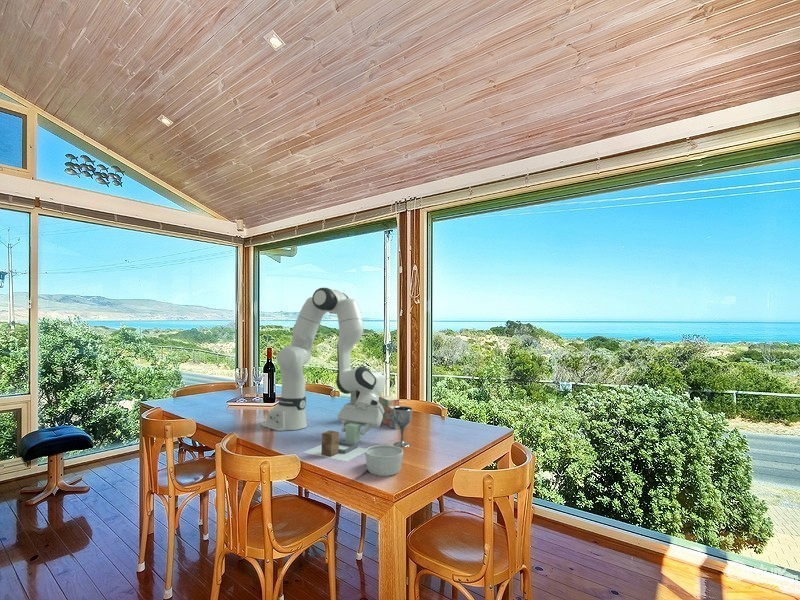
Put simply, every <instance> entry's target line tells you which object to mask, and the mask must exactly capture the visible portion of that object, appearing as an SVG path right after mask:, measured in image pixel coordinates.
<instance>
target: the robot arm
mask: <svg viewBox="0 0 800 600" xmlns="http://www.w3.org/2000/svg"><path fill="white" fill-rule="evenodd" d="M298 313H299V314H298V316H297V318H296V321H295V322H294V323H295V324H294V326H293V328H292V337H291V343H290V345H286V346H284V347H283V348H281V349H280V350H279V352H278V353H277V354H276V362H277V365H278V366H279V371H280V377H281V395H280V397H278V398H276V401H278V402H277V403H278V404H277V405H276V406H274V407H273V408H272V409H271V410H269V411H268V412H267V415H266V419H265V421H263V422H261V423H260V426H262V427H263V428H264V427H265V428H268V429H270V430H275V431H278V432H280V431H296V430H297V431H298V430H302V429H304V428H307V427H308V421H307V416H306V403H307V399H306V398H307V397H306V378H305V375H304V370H303V367H304V366H305V365H306V364H308V363H309V361H310V360H311V357H312V350H313V346H314V341H315V339H316V338H315V337H316V335H317V332H318V329H319V327H320V326H321V322H322V320H323V317H324V315H325V314H327V313H328V314H333V315H334V314H335V315H336V316H337V321H338V323H337V324H338V339H337V345H336V351H337V356H336V357H337V360H336V361H337V375H336V378H335V379H336V380H335V381H336V382H335V383H336V386H337V388H338V390H339V391H340V392H341V393H342V394H346V395H348V394H351V392H354V391H356V390H358V391H360V394H359V397H358V399H357V401H356V403H350V402H348V403H345V404H344V405H343V406H342V408H341V409H340V411H339V413H338V414H337V420H338V421H339V422H340V423H342V424H341V425H342V427H341V430H340V431H341V432H342V433H346V425H347V424H350V423H357V424H361V427H364V428H361V432H360V436H365V435H366V433H367V432H368V431H370V430H371V428H375V429H378V428H380V426H381V425H382V423H383V422H382V419H383V415H382V414H384V409H383V407H382V405H381V404H380V403H379V397H380V396H382V393H383V391H384V388H385V384H386V379H385V376H384V375H383V374H382V373H381V372H379V371H376V370H375V371H374V370H373V371H372V370H370V369H369V368H367V367H366V366H363V365H362V366H358V367H354V368H353V369H352V365H351V364H352V363H351V351H352V349H353V347H354V346H355V345H356V343H357V342H358V341H359V340H360V339H361V338H362V337H363V334H364V322H363V316H362V312H361V309H360V305H359V303H358V301H357V300H355V299H354V298H349V297H348V295H347V294H346V293H344V292H341V291H339V290H336V289H332V288H329V287H319V288H317V289H316V290H315V291H314V292H313V294H312V296H311V297H307V299H306V300H305V302H304V303H303V305H302V307H301V309H300V311H299V312H298Z"/></svg>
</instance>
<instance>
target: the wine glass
mask: <svg viewBox="0 0 800 600" xmlns="http://www.w3.org/2000/svg"><path fill="white" fill-rule="evenodd" d="M393 415H394V421H395V423H396V424H397V425H398V427H399V428H400V429H399V430H400V436H401V437H400V438H401V439H400V441H395V442H394V443H393V446H398V447H400V448H406V447H407V446H408V447H410V446H411V443H410V442H408V441H407V442H406V441H404V432H405V429H407V427H408V426H409V425H410V423H411V421H412V418H413V408H412V407H410V406H405V405H402V406H401V405H399V406H398V407H394V408H393ZM409 443H410V444H409ZM409 445H410V446H409ZM408 447H407V448H408Z"/></svg>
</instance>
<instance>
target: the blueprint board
mask: <svg viewBox="0 0 800 600" xmlns="http://www.w3.org/2000/svg"><path fill="white" fill-rule="evenodd" d="M366 449H367V448H365V447H364V448H363V447H360V446H358V444H357V443H350V442H345V441H342V440H341V441H340V440H339V450H338V454H336V455H334V456H332V457H329V456H325V455H321V451H322V444H320V445H317V446H315V447H313V448H312V447H311V448H310V449H307V450H305V451H302V453H305V454H308V455H313V456H318V457H323V458H328V459H332V460H337V461H341V462H342V461H343V462H349V461H351V460H353V459H355V458H357V457H359V456H361V455H362V454H365V450H366Z"/></svg>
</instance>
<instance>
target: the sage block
mask: <svg viewBox="0 0 800 600" xmlns="http://www.w3.org/2000/svg"><path fill="white" fill-rule="evenodd" d="M361 427H362V426H361V424H357V423H350V424H349V423H348V424H347V425H346V432H345V439H344V442H348V443H354V444H357V443H359V442H361V434H360V432H361V429H362V428H361Z"/></svg>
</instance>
